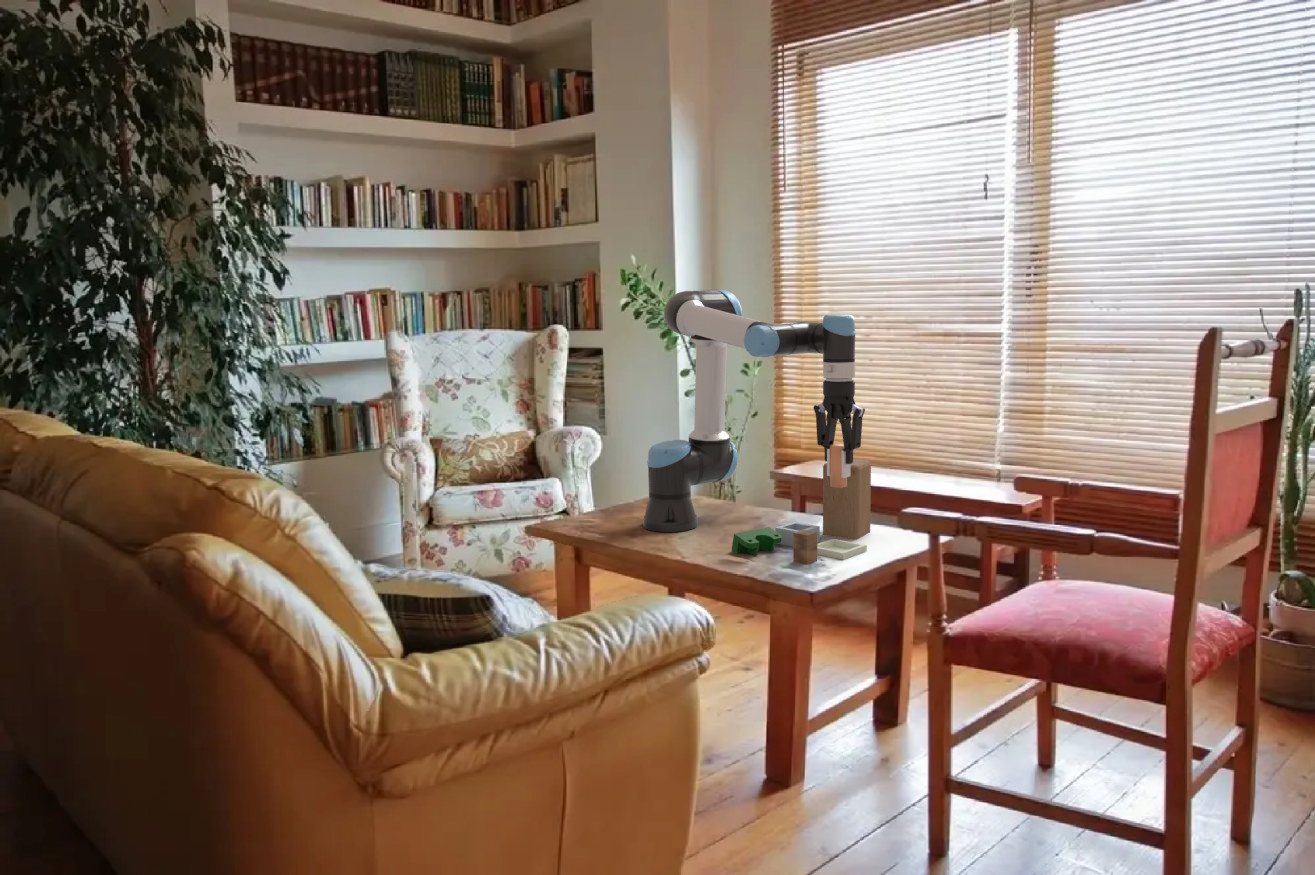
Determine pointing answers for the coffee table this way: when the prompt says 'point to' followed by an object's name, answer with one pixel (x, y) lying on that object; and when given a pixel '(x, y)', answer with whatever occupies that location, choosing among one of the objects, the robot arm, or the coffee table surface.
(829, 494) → the wooden block
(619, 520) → the coffee table surface
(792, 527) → the socket
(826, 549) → the tray
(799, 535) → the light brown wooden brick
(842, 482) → the peach rounded rod
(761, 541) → the clamp
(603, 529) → the coffee table surface
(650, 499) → the robot arm
